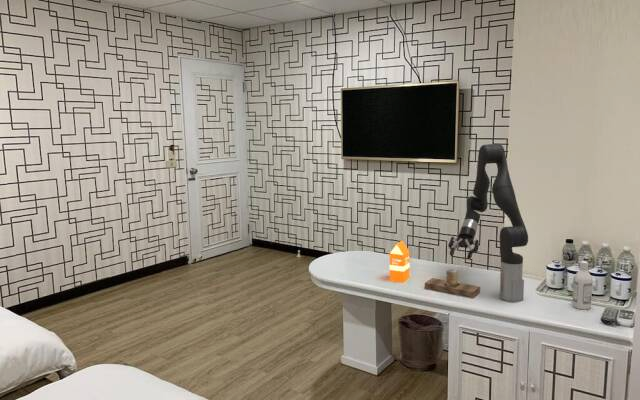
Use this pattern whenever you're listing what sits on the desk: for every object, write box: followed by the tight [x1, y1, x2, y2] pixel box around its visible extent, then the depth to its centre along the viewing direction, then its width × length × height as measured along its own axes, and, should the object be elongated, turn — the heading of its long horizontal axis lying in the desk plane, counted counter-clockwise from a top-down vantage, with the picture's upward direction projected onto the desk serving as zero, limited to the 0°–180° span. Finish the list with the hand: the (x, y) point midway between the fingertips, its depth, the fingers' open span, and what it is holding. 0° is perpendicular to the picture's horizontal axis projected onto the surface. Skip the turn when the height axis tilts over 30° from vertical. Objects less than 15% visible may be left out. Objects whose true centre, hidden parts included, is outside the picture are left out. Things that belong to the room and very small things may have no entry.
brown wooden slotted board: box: [424, 277, 481, 299], centre depth 226 cm, size 24×9×3 cm, turn 52°
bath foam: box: [571, 260, 593, 311], centre depth 200 cm, size 7×7×20 cm
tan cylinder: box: [445, 268, 459, 288], centre depth 225 cm, size 4×4×10 cm
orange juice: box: [389, 240, 411, 284], centre depth 244 cm, size 8×9×20 cm
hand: (459, 257), depth 231 cm, fingers open, 8 cm apart
